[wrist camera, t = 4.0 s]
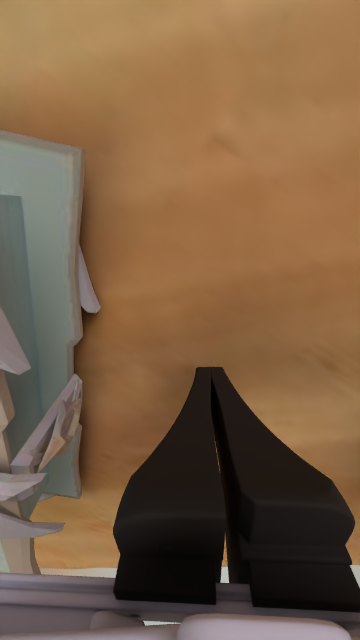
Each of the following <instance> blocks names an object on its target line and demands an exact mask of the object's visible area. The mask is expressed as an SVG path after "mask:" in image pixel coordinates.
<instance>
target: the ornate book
mask: <svg viewBox="0 0 360 640" xmlns="http://www.w3.org/2000/svg"><path fill="white" fill-rule="evenodd" d="M84 179H85V150H84V149H82V148H78V147H74V146H69V145H65V144H60V143H56V142H52V141H47V140H43V139H39V138H34V137H30V136H25V135H21V134H17V133H12V132H8V131H3V130H0V573H18V574H40V575H41V573H40V570H39V567H38V564H37V562H36V559H35V551H34V538H36V537H39V536H43V535H47V534H51V533H55V532H59V531H61V530H62V528H63V526H64V524H65V523H33V522H32V521H30V520H29V518H30V516H31V514H32V512H33V510H34V508H35V506H36V504H37V503H38V502H40V501H42V500H45V499H48V498H51V497H53V496H55V495H57V496H63V497H70V498H76V499H80V497H81V494H82V488H81V481H80V474H79V463H78V457H79V447H80V440H81V433H82V426H81V425H80V423H79V422H78V421H79V417H80V410H81V407H82V381H81V379H80V378H79V377H78V376H77V375H76V374H74V347H75V346H76V345H77V343H78V342H79V341H80V340H81V338H82V337H83V326H82V315H81V306H82V307H83V308H84V309H85V310H86V311H87V312H88V313H97V312H98V311H99V309H100V308H101V307H100V304H99V302H98V300H97V297H96V295H95V292H94V290H93V287H92V284H91V281H90V277H89V274H88V271H87V268H86V264H85V261H84V258H83V255H82V251H81V248H80V245H79V236H80V225H81V213H82V202H83V190H84Z"/></svg>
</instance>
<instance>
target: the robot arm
mask: <svg viewBox="0 0 360 640" xmlns="http://www.w3.org/2000/svg"><path fill="white" fill-rule="evenodd" d="M214 437H215V439H214ZM215 443H216V446H215ZM216 448H217V452H216ZM217 454H218V459H217ZM218 460H219V465H218ZM219 467H220V472H219ZM220 477H221V478H220ZM354 526H355V520H354V517H353V515H352V513H351V511H350V509H349V507H348V505H347V503H346V502H345V500H344V498H343V497H342V495H341V494H340V492H339V491H338V489H337V488H336V486H335V485H334V483H333V481H332V480H331V479H329V478H328V477H326V476H325V475H324V474H322V473H321V472H320V471H318V470H317V469H315V468H314V467H313V466H311V465H310V464H308V463H307V462H306V461H304V460H303V459H302V458H301V457H299V456H298V455H297V454H296V453H294V452H293V451H292V450H291V449H290V448H289V447H287V446H286V445H285V444H284V443H283V442H282V441H281V440H280V439H278V438H277V437H276V436H275V435H274V434H273V433H272V432H271V431H270V430H269V429H268V428H267V427H266V426H265V425H264V424H263V423H262V422H261V421H260V420H259V419H258V418H257V416H256V415H255V414H254V413H253V412H252V411H251V409H250V408H249V407H248V406H247V404H246V403H245V402H244V401H243V399H242V398H241V397H240V395H239V394H238V392H237V391H236V389H235V388H234V386H233V385H232V383H231V382H230V380H229V378H228V377H227V375H226V373H225V371H224V369H223V368H222V367H198V368H196V373H195V378H194V381H193V385H192V387H191V390H190V393H189V395H188V397H187V400H186V402H185V404H184V406H183V408H182V410H181V412H180V414H179V415H178V417H177V419H176V421H175V422H174V424H173V425H172V427H171V428H170V430H169V431H168V433H167V434H166V436H165V437H164V439H163V440H162V441H161V443H160V444H159V445H158V446H157V448H156V449H155V450H154V451H153V453H152V454H151V455H150V456H149V458H148V459H147V460H146V461H145V462H144V463H143V464H142V465H141V466H140V467H139V469H138V470H137V471H136V472H135V473H134V474H133V475H132V476H131V478H130V480H129V482H128V484H127V486H126V489H125V491H124V494H123V496H122V499H121V502H120V504H119V508H118V511H117V515H116V519H115V524H114V528H113V535H114V538H115V541H116V544H117V546H118V549H119V552H120V559H119V564H118V569H117V574H116V578H104V577H83V576H60V575H40V574H18V573H0V640H360V588H359V586H358V583H357V581H356V579H355V577H354V574H353V572H352V570H351V568H350V565H352V560H351V558H350V555H349V553H348V551H347V549H346V547H345V544H346V543H347V541H348V539H349V537H350V536H351V534H352V532H353V529H354ZM225 535H226V548H227V561H228V573H229V583H220V580H221V566H222V560H223V552H224V540H225ZM143 621H160V622H178V623H181V624H167V625H150V626H145V624H144V622H143Z"/></svg>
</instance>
